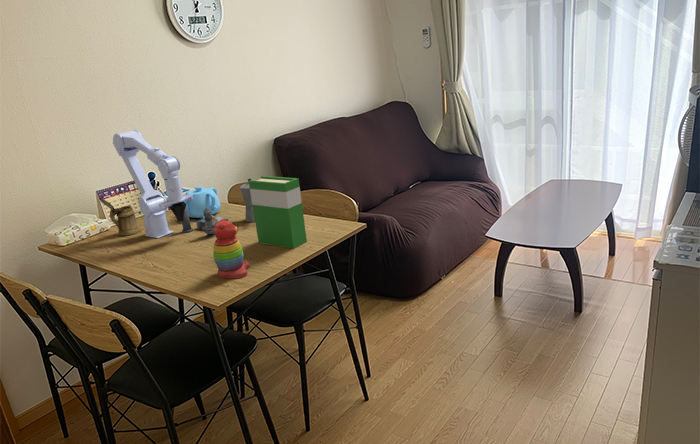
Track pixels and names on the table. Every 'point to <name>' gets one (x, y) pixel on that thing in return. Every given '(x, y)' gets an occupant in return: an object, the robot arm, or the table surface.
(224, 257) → the stacking bear
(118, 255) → the table surface
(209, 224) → the grey tall lumpy piece
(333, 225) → the table surface
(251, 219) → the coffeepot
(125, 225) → the wooden mug
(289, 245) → the hardback book
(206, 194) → the decorative pot
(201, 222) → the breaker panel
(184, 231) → the post
